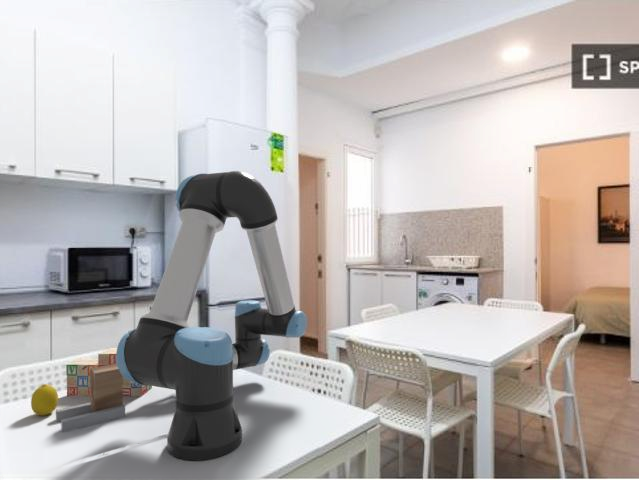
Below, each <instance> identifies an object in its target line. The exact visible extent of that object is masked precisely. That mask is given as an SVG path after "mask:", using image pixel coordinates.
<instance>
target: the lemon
mask: <svg viewBox="0 0 639 480" xmlns="http://www.w3.org/2000/svg"><path fill="white" fill-rule="evenodd" d="M32 393H33V394H32V395H31V399H30V406H31V409H32V411H33V413H34V414H36V415H38V416H40V417H43V416H47V415H49V414H51V413H53V412H54V411H56V408H57V407H58V403H59V395H58V392H57V390H56V387H54V386H52V385H48V384H47V383H43V384H42V385H41V386H39V387H38V388H36V389H35V390H34V391H33V392H32Z"/></svg>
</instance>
